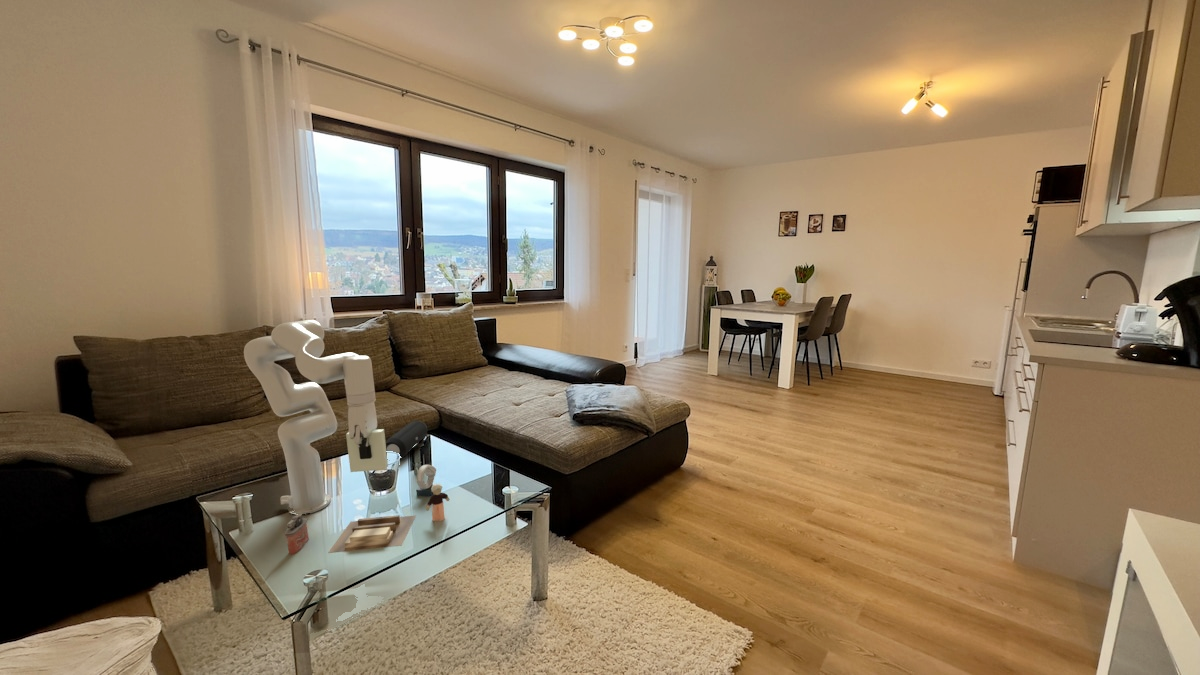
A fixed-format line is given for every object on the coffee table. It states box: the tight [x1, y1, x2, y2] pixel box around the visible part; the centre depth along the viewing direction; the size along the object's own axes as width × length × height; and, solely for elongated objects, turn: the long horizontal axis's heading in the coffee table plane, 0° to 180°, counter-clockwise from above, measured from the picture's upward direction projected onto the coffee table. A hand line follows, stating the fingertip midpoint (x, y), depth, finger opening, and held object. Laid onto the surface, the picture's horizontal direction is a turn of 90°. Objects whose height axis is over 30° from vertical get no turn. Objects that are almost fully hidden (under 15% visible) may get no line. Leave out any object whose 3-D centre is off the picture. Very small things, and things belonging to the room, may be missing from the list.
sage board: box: [345, 428, 389, 473], centre depth 140 cm, size 10×2×12 cm, turn 97°
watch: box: [416, 464, 437, 497], centre depth 163 cm, size 6×8×11 cm
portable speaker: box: [385, 420, 428, 459], centre depth 204 cm, size 26×10×10 cm, turn 177°
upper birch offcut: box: [350, 527, 391, 542], centre depth 136 cm, size 10×4×2 cm, turn 97°
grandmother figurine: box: [425, 482, 450, 522], centre depth 146 cm, size 8×4×13 cm, turn 148°
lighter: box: [284, 514, 310, 555], centre depth 134 cm, size 8×3×10 cm, turn 5°
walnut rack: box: [328, 514, 417, 554], centre depth 140 cm, size 20×16×4 cm
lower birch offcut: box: [345, 531, 393, 548], centre depth 136 cm, size 12×4×2 cm, turn 97°
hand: (367, 455), depth 140 cm, fingers closed on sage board, 2 cm apart
